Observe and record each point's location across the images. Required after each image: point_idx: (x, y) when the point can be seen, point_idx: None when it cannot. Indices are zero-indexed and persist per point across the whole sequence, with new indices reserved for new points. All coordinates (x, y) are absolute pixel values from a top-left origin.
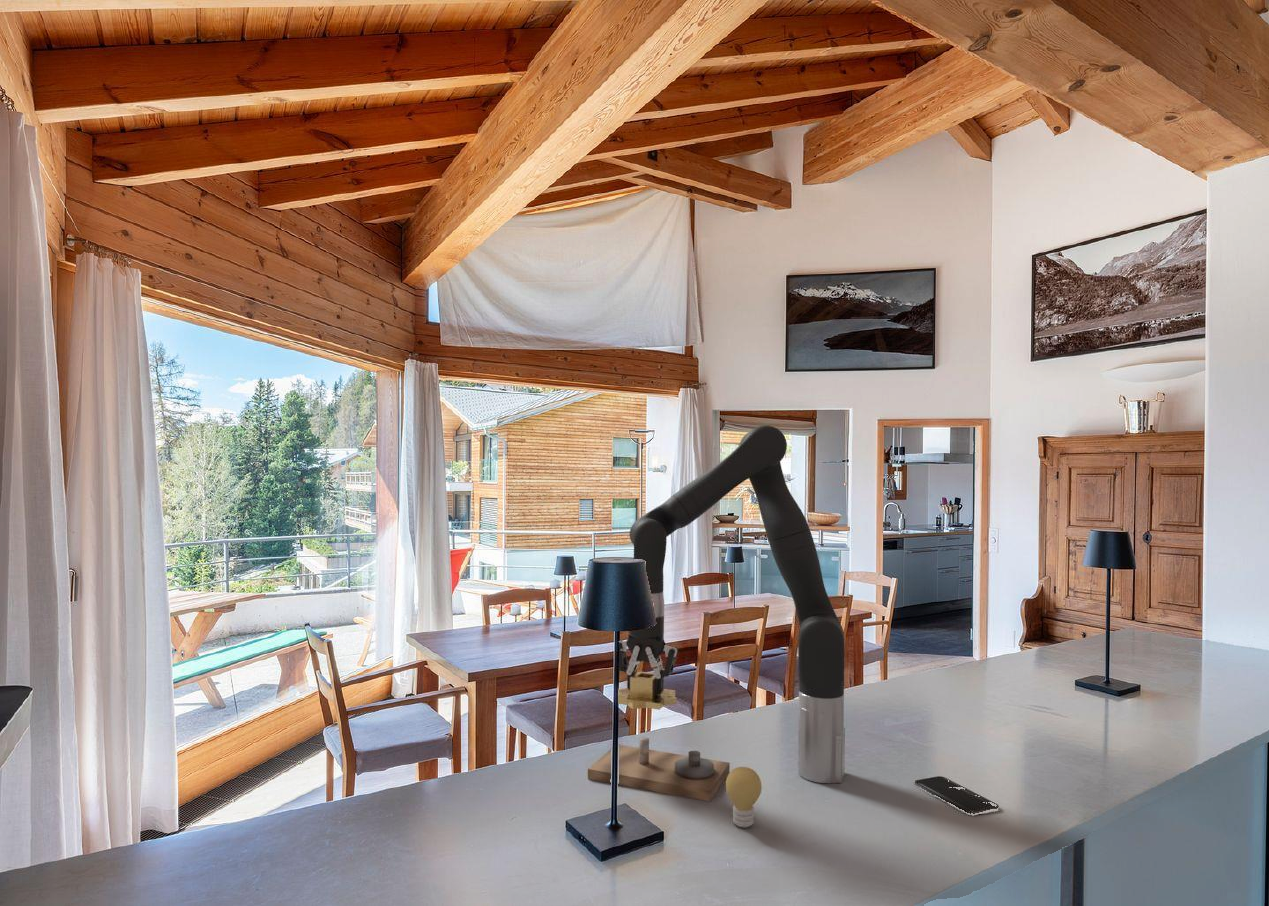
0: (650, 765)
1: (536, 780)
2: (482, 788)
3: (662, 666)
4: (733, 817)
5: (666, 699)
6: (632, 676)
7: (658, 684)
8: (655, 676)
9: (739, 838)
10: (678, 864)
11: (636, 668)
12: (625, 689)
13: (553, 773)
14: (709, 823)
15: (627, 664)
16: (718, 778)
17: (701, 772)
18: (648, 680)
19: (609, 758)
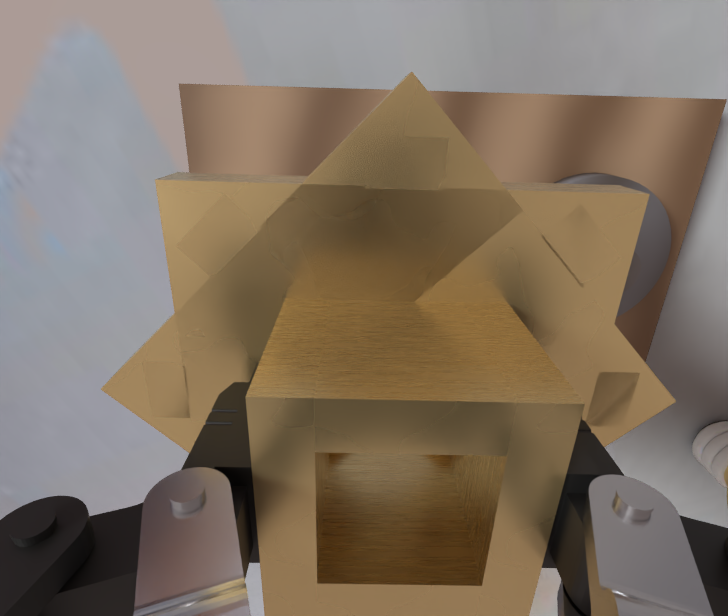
0: None
1: (92, 405)
2: (7, 488)
3: (708, 602)
4: (699, 456)
5: None
6: (277, 595)
7: None
8: (559, 602)
9: (698, 492)
10: None
11: (234, 516)
12: (182, 352)
13: (102, 348)
14: (626, 457)
15: (61, 568)
16: (671, 272)
17: (622, 312)
18: (479, 613)
19: None
